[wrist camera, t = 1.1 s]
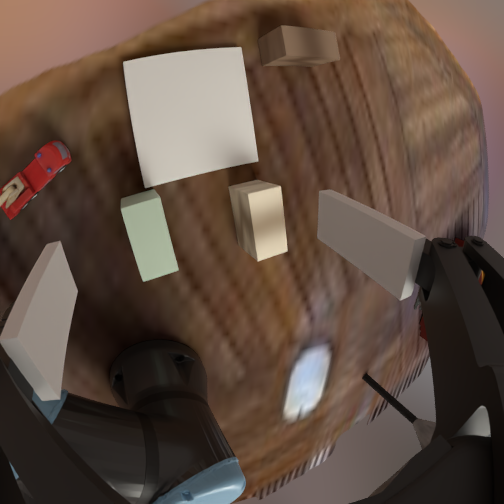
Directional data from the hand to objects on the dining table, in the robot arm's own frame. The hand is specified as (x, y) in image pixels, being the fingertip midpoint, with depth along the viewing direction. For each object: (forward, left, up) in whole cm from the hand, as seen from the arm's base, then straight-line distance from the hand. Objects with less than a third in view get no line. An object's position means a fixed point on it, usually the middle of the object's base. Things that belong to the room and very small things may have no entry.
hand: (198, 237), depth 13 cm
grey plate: (+7, -6, -21) cm, 23 cm away
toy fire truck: (+4, +15, -21) cm, 27 cm away
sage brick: (-5, +2, -21) cm, 22 cm away
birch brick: (-7, -11, -21) cm, 25 cm away
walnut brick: (+14, -20, -21) cm, 33 cm away
